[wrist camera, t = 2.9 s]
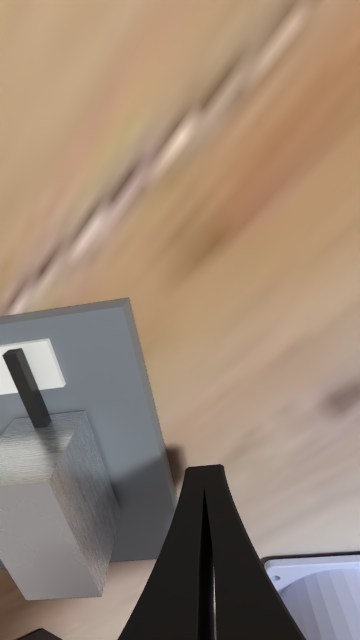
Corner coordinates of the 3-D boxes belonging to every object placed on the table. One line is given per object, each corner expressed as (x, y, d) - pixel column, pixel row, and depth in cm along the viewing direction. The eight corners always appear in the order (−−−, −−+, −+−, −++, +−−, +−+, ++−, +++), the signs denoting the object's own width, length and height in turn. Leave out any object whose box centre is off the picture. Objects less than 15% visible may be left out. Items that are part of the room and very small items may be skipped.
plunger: (120, 512, 14) (101, 596, 11) (60, 517, 14) (26, 600, 11) (59, 338, 11) (7, 392, 8) (-18, 349, 11) (-96, 405, 8)
